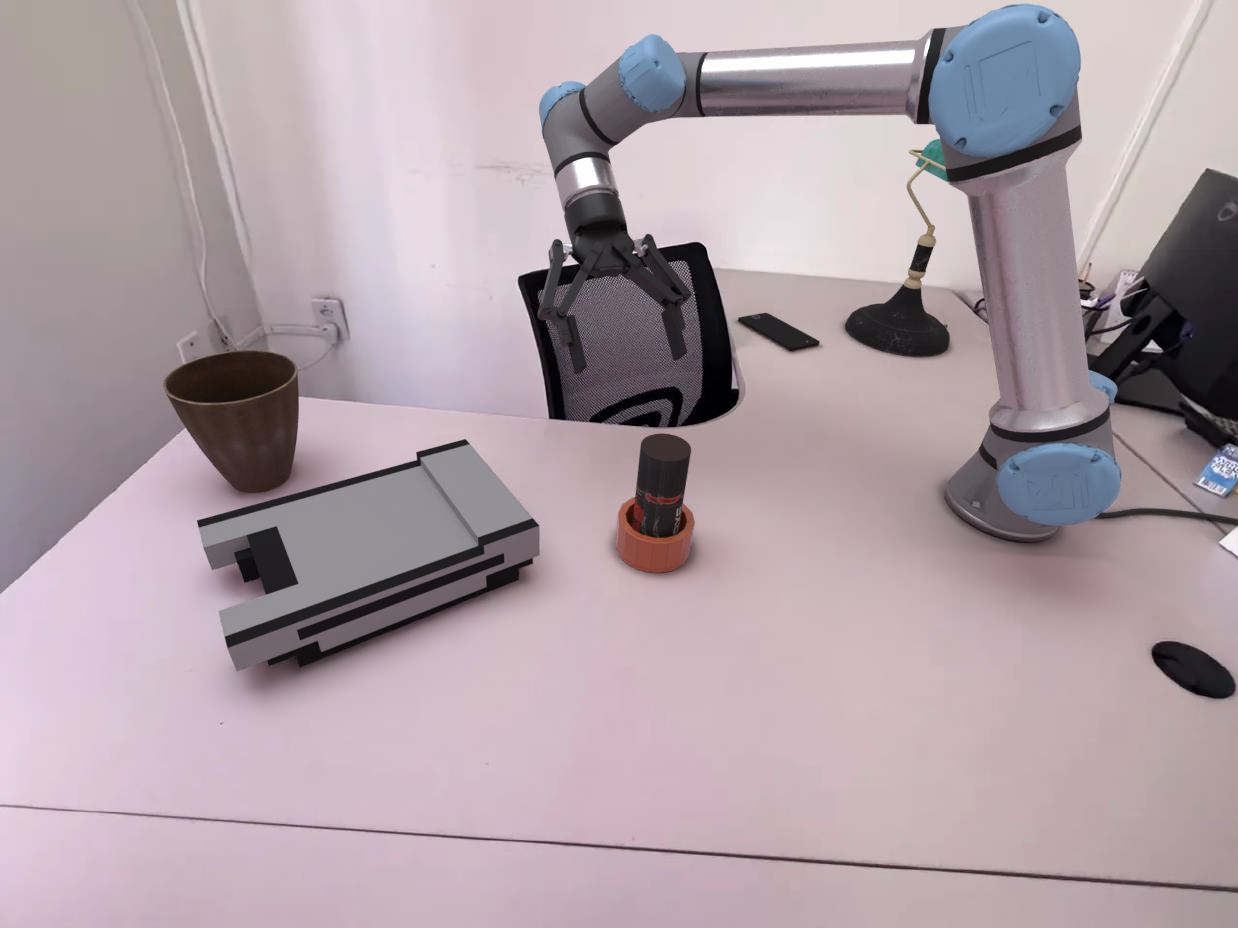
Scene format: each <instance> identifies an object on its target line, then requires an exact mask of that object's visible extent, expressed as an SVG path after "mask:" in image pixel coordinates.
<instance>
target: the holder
mask: <svg viewBox="0 0 1238 928" xmlns="http://www.w3.org/2000/svg"><path fill="white" fill-rule="evenodd" d="M634 504H635V496H632V497H631V498H629V499H628V500H626V501H625V502H623V503H622V504H621V507H619V508H620V509H619V510H618V512H617V519H616V531H615V549H616V552H617V554H618V556H619V558H621V560H622V561H623V562H624V563H625V564H627V565H628V566H630V567H632V568H634V569H636V570H637V571H641V572H645V573H650V574H651V573H652V574H653V573H654V574H662V573H668V572H672V571H674V570H677V569H679V568H680V567H682V566H683V565H684V564H685V563H686V561H687V560H688V559H689V555H690V551H691V548H692V542H693V538H694V537H693V536H694V532H695V525H696V520H695V518H694V514H693V511H691V509H689V507H688V506H687V505H686V504H685V503H683V505H682V512H681V518H680V524H679V531H678V534H677V535H674V536H671V537H667V538H654V537H650V536H646V535H642V534H640V533H639V532H637V531H635V530H634V529H632V523H633V513H634Z"/></svg>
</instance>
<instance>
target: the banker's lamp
mask: <svg viewBox="0 0 1238 928" xmlns="http://www.w3.org/2000/svg"><path fill="white" fill-rule="evenodd" d="M908 153H909V154H910V155H912V156H913V157H916V158H917V160H916V162H915V166H916V167H918V168H919V169H917V171H915V172H914V173H913V174H912V175H911V176H910V177H909V179H908V181H907V182H906V190H907V193H908V195H909V197H910V199H911V200H912V202H913V204H914V205H915V207H916V209H917V211H918V212H919V214H920V216H921V217H922V219H923V221H924V223H925V224H926V226H927V229H926V233H925V234H922V235H920V236H919V237H918V239H917V243H916V244H917V245H916V248H915V251H914V253H913V257H912V260H911V263H910V266H909V267H908V270H907V275H908V277H907V278H906V279H905V280H904V283H903V284H902V285H901V286H900V288H898V289H897V291H896V292H895V293H894V295H893V296H891V297H890V299H888V300H887V301H885V302H884V303H883V302H881V303H871V304H868V305H865V306H861V307H859V308H857V309H856V310H854V311H852V312H851V313H850V315H849V316H848V318H847V319H846V322H845V323H844V325H845V326H844V328H845V331H846V332H847V333H848V334H849V336H851V338H853V339H854V340H856V341H858V342H859V343H861V344H863V345H864V346H868V347H870V348H871V349H876V350H877V351H878V350H879V351H881V352H885V353H888V354H893V355H898V356H904V357H913V358H914V357H915V358H918V357H919V358H925V357H934V356H939V355H941V354H943V353H945V352H946V351H947V350H948V348H949V346H950V341H951V340H950V339H951V335H950V332H949V330H948V327H949V326H948V324H944V323H942V322H941V321H940V320H939V319H938V318H937V317H935V316H934V315H932V314H930V313H928V312H926V310H925V306H924V303H923V296H922V284H923V281H922V280H921V279H923V278H924V277H925V276H926V273H927V268H928V265H929V262H930V259H931V256H932V253H933V252H934V251H933V250H934V247H935V246H936V244H937V239H936V236H934V232H935V230H936V226H935V225H934V224H932V223H931V221H930V219H929V217H928V216H927V213H926V212H925V211H924V209H923V207H922V205H921V204H920V201H919V200H918V198H917V196H916V195H915V193H914V191H913V189H912V183H913V181H914V180H915V179H916V178H918V176H919V175H920V174H921V173H923V172H924V171H925V172H927V173H929V174H931V175H933V176H935V177H937V178H939V179H940V180H942V181H944V182H946V183H948V180H947V174H946V168H945V163H944V157H943V152H942V146H941V141H940V138H936V139H933V140H930V141H929V142H928V144H927V145H926V146H925V147H924V149H910V150H908Z"/></svg>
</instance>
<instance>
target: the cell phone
mask: <svg viewBox="0 0 1238 928" xmlns="http://www.w3.org/2000/svg"><path fill="white" fill-rule="evenodd" d="M737 322H738V323H740V324H742V325H744V326H746V327H748V328H749V329H751V330H752V331H755V332H756V333H757V334H759V335H761V336H763V337H765V338H766V339H769V340H770V341H772V342H773V343H775V344H777V345H778V346H780V347H782V348H784V349H786V350H787V351H788V352H796V351H800V350H804V349H809V348H814V347H818V346H819V345H820V340H819V339H817V338H815V337H813V336H811V335H809V334H807V333H806V332H803V331H802V330H800V329H798V328H797V327H794V326H793V325H791V324H789V323H787V322H785V321H783V320H781V319H780V318H778V317H776V316H774V315H773V314H770V313H768V312H761V313H756V314H750V315H745V316H739V317H738V318H737Z"/></svg>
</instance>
